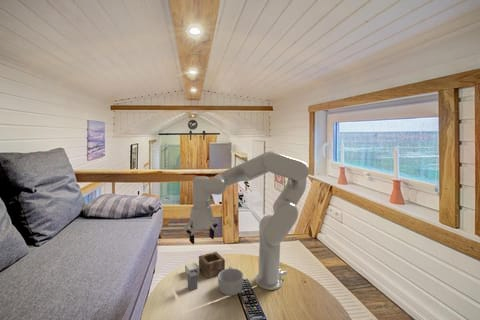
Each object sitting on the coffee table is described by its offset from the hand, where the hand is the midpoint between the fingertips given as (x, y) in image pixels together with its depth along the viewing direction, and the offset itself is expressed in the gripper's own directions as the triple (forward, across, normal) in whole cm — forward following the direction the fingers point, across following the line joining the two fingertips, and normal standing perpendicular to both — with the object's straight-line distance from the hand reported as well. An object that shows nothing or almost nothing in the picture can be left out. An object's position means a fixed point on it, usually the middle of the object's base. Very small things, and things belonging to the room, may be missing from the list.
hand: (202, 240), depth 113 cm
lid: (+20, +6, +4) cm, 22 cm away
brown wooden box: (+20, -7, -4) cm, 21 cm away
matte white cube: (+20, +2, -7) cm, 21 cm away
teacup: (+20, -8, +12) cm, 25 cm away
